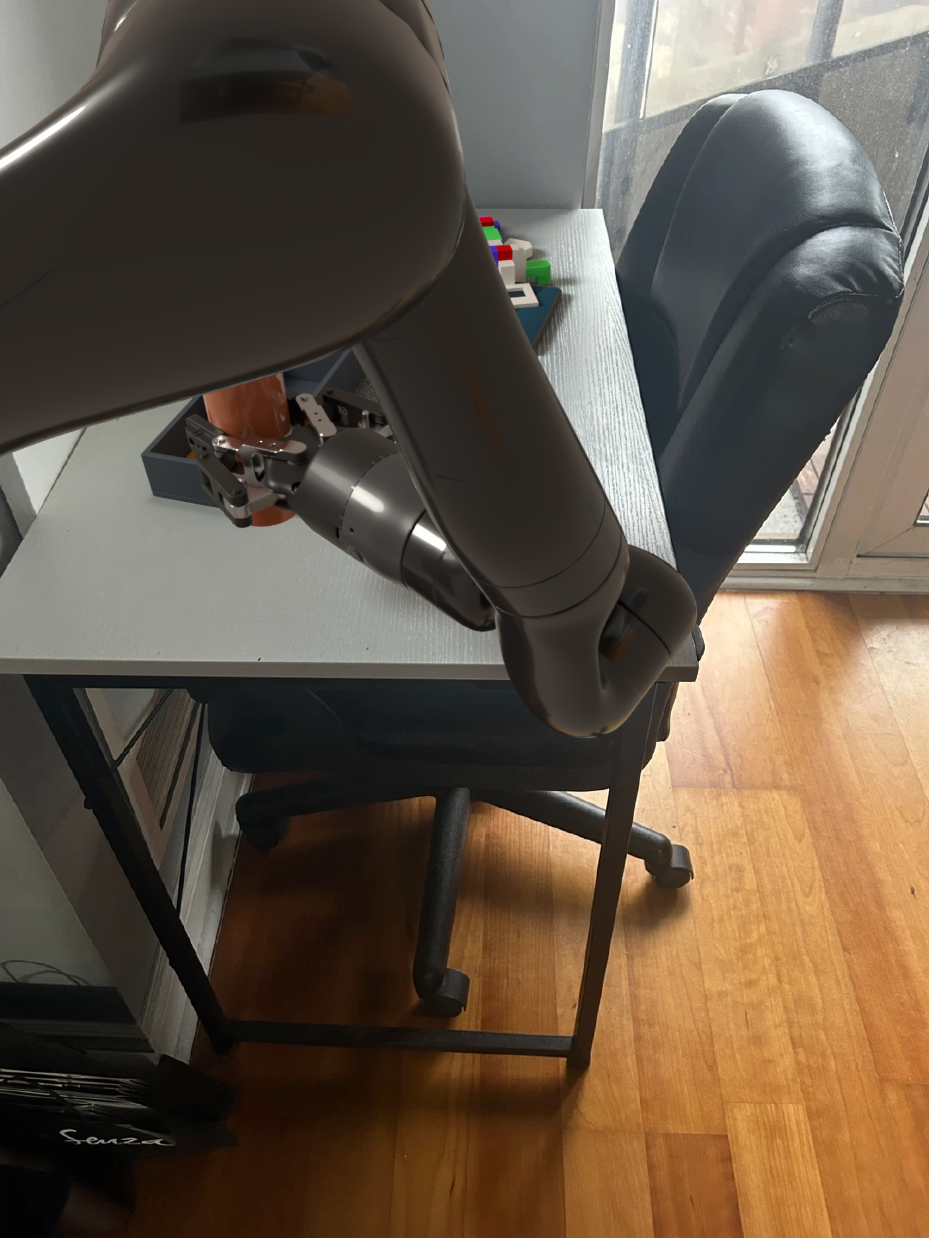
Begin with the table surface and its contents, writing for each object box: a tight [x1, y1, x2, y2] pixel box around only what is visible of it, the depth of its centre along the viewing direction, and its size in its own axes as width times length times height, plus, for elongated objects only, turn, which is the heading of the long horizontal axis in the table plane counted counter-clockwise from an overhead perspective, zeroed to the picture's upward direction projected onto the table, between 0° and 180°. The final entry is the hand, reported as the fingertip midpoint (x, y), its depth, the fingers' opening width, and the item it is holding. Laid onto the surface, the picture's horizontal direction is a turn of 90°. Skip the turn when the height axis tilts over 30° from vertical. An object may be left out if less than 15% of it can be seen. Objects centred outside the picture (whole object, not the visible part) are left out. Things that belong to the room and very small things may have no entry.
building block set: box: [478, 215, 552, 308], centre depth 114 cm, size 25×20×4 cm
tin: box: [203, 373, 297, 528], centre depth 66 cm, size 6×6×12 cm
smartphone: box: [508, 282, 563, 352], centre depth 107 cm, size 8×15×1 cm, turn 163°
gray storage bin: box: [140, 349, 366, 508], centre depth 93 cm, size 32×11×4 cm, turn 163°
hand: (228, 410), depth 67 cm, fingers closed on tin, 5 cm apart
